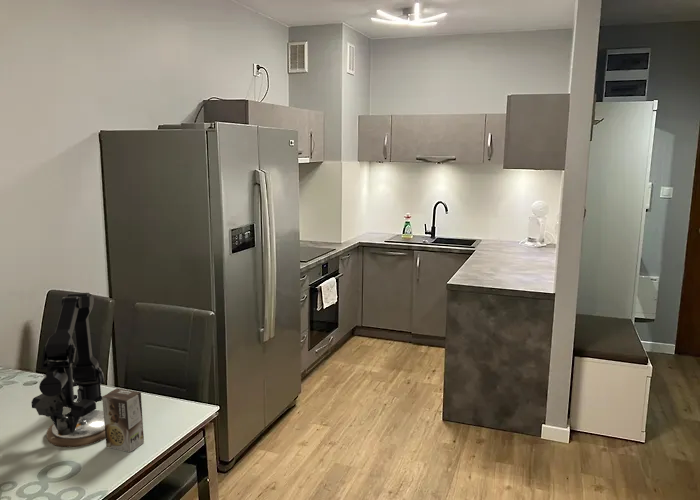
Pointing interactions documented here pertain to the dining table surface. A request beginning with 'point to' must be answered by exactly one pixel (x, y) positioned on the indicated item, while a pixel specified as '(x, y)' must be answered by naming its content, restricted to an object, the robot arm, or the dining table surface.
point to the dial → (80, 426)
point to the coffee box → (123, 419)
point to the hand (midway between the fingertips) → (65, 430)
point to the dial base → (75, 442)
